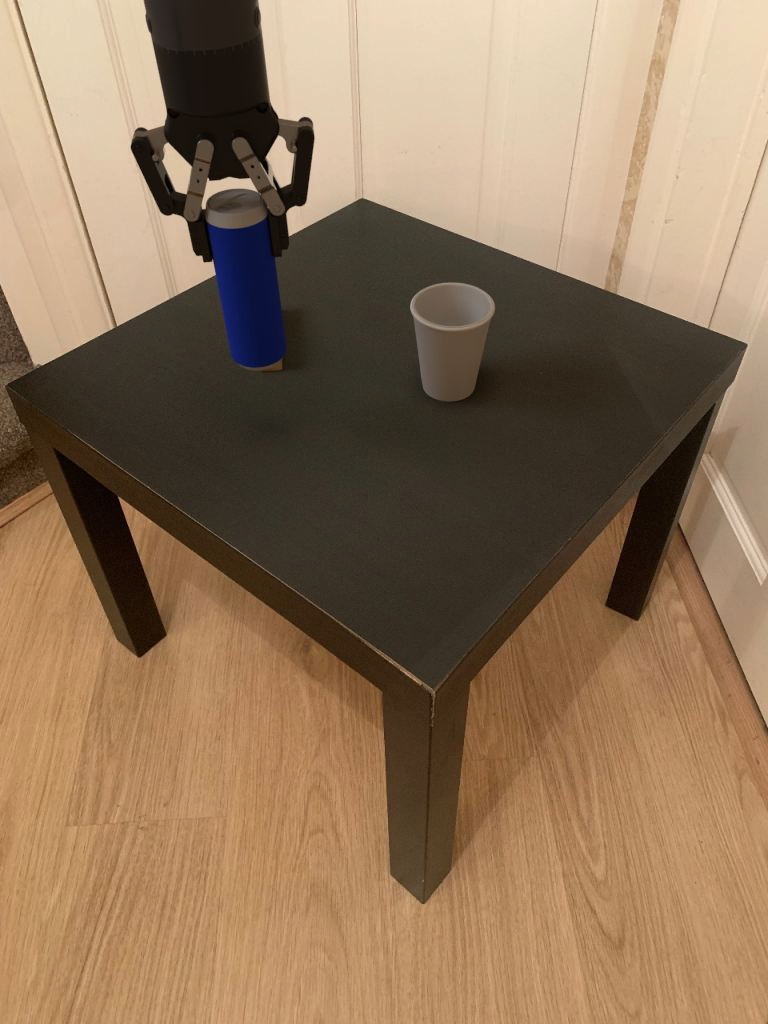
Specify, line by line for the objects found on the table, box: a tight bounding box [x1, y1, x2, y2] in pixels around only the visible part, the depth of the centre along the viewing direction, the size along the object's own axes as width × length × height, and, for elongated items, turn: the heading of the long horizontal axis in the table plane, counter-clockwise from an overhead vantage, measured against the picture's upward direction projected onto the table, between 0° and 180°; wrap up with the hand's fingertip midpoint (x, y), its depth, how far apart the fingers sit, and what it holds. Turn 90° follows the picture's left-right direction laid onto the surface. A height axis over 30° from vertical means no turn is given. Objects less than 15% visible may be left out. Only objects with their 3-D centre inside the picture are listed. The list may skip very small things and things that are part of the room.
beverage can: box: [204, 187, 288, 371], centre depth 69 cm, size 5×5×15 cm
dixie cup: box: [409, 282, 496, 402], centre depth 82 cm, size 8×8×10 cm
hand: (242, 254), depth 66 cm, fingers closed on beverage can, 5 cm apart
